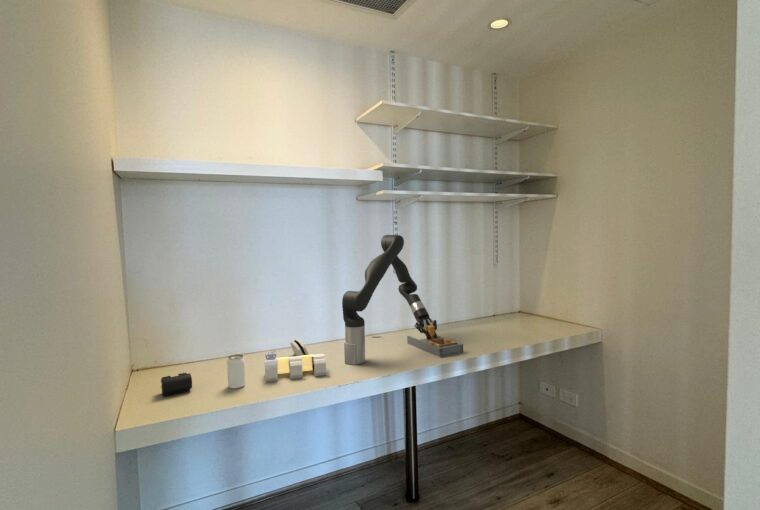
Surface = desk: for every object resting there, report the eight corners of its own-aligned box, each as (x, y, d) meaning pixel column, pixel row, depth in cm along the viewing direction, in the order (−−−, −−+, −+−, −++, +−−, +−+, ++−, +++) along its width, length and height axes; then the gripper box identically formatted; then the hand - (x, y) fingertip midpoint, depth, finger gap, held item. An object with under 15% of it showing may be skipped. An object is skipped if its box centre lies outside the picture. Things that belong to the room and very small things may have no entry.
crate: (457, 349, 195) (457, 330, 195) (440, 353, 191) (440, 333, 190) (436, 342, 210) (436, 324, 210) (420, 345, 206) (420, 326, 205)
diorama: (265, 383, 160) (264, 351, 159) (265, 374, 170) (264, 345, 169) (326, 376, 166) (325, 345, 166) (323, 368, 176) (322, 339, 176)
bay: (463, 352, 194) (463, 344, 194) (440, 357, 188) (440, 348, 187) (428, 339, 221) (428, 331, 220) (407, 343, 214) (407, 335, 214)
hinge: (314, 361, 186) (306, 342, 184) (305, 366, 184) (297, 347, 182) (303, 352, 201) (296, 335, 199) (295, 356, 199) (288, 339, 197)
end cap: (163, 399, 145) (162, 381, 145) (160, 393, 151) (159, 376, 150) (192, 392, 151) (191, 375, 151) (188, 387, 157) (188, 370, 156)
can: (224, 387, 155) (223, 357, 155) (238, 382, 161) (237, 353, 160) (234, 390, 152) (233, 359, 151) (248, 385, 157) (247, 355, 157)
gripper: (411, 308, 209) (424, 336, 199) (432, 306, 216) (446, 332, 206) (406, 316, 214) (418, 344, 204) (427, 314, 221) (440, 340, 210)
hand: (432, 338), depth 205 cm, fingers closed on crate, 3 cm apart
